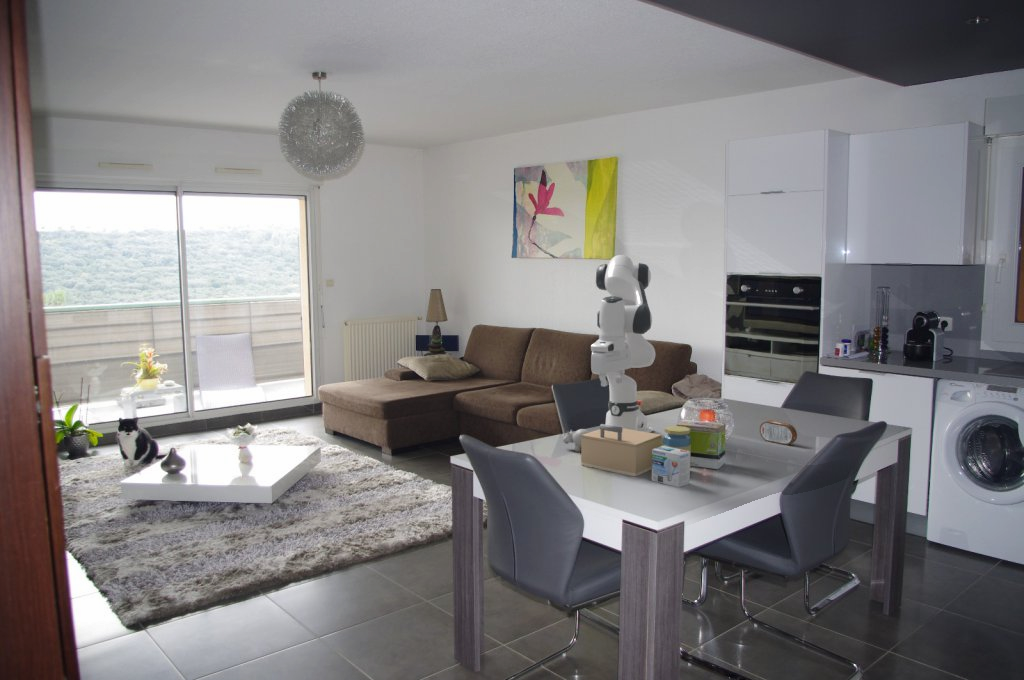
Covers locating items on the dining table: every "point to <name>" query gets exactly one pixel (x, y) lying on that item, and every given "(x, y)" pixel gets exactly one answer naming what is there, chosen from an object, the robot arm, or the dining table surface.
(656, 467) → the light bulb box
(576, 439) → the toy rhinoceros
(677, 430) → the jar
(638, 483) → the dining table surface
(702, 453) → the tea box
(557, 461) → the dining table surface
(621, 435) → the carton flap
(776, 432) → the tin
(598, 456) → the carton
